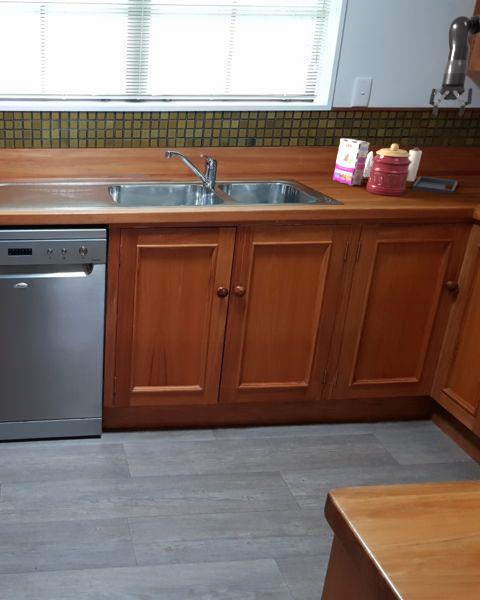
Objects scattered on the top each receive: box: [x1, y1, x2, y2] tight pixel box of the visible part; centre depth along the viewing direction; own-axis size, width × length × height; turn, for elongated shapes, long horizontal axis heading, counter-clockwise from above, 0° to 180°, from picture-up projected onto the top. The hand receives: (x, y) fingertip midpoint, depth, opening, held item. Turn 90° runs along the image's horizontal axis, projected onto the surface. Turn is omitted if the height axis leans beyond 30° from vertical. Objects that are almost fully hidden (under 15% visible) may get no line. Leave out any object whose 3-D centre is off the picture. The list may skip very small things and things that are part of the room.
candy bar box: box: [332, 138, 371, 187], centre depth 235 cm, size 11×5×16 cm, turn 17°
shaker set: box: [362, 151, 374, 180], centre depth 244 cm, size 12×4×11 cm, turn 108°
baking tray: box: [411, 176, 459, 195], centre depth 234 cm, size 14×22×2 cm, turn 146°
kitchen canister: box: [365, 143, 412, 197], centre depth 221 cm, size 13×13×18 cm
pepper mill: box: [406, 147, 423, 182], centre depth 243 cm, size 4×4×13 cm
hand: (447, 116), depth 241 cm, fingers open, 8 cm apart
